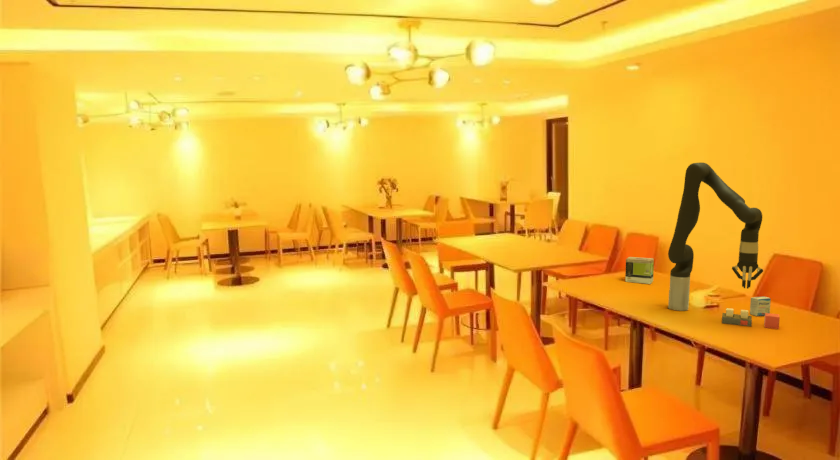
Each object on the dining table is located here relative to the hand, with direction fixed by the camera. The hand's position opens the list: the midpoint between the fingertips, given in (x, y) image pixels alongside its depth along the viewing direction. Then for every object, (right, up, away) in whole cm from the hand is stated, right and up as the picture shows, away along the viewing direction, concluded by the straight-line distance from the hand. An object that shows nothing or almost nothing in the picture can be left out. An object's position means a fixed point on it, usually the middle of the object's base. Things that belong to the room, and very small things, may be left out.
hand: (746, 288), depth 261 cm
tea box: (-15, -6, +90) cm, 91 cm away
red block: (+10, -17, -3) cm, 20 cm away
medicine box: (+16, -15, +16) cm, 27 cm away
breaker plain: (-5, -15, +5) cm, 17 cm away
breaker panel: (-2, -17, +4) cm, 17 cm away
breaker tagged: (0, -15, +2) cm, 15 cm away
